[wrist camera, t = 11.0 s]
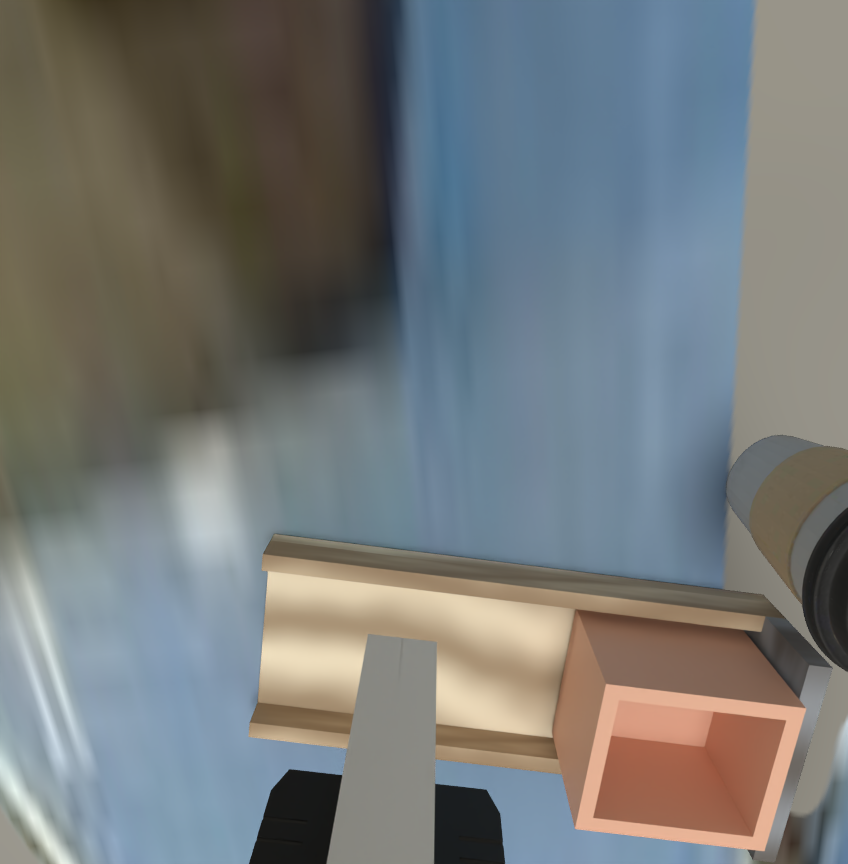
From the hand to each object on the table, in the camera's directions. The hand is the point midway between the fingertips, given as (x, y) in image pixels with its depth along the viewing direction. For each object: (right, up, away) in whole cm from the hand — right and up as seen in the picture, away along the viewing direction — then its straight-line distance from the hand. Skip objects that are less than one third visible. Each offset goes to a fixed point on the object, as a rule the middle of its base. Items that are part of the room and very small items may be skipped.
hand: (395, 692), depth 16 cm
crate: (+14, -10, +28) cm, 33 cm away
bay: (+6, -8, +30) cm, 31 cm away
